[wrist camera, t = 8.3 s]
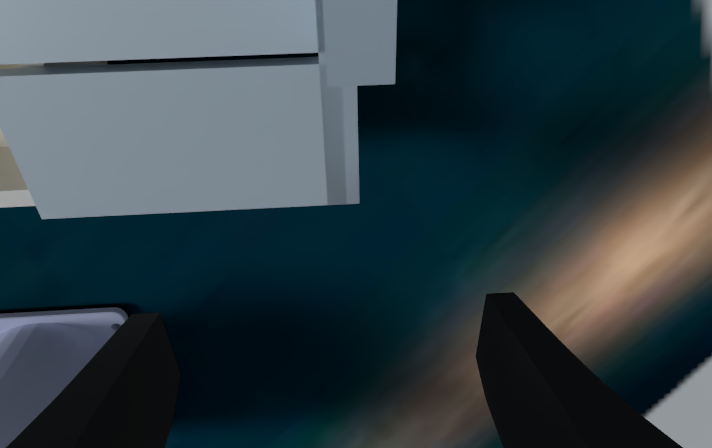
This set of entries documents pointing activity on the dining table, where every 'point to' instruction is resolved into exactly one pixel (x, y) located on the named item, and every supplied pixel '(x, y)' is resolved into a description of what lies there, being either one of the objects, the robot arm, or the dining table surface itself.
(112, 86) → the lid
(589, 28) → the dining table surface
